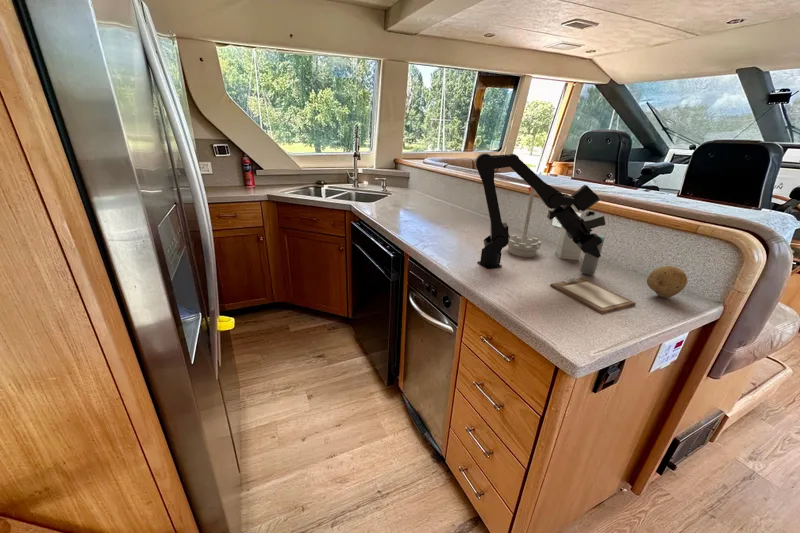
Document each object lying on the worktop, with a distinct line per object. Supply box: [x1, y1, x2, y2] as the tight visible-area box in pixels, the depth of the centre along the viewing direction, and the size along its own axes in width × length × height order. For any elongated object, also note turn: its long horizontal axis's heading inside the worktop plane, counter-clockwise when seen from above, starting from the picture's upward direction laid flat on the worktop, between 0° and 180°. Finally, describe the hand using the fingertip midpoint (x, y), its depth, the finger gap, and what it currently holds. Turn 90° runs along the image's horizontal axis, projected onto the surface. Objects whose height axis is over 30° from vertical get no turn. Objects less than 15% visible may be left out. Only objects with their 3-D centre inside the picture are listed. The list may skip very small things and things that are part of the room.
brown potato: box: [646, 265, 688, 299], centre depth 97 cm, size 9×9×10 cm
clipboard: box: [549, 277, 636, 314], centre depth 99 cm, size 14×18×1 cm
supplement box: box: [554, 224, 582, 261], centre depth 128 cm, size 7×7×13 cm
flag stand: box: [506, 186, 542, 258], centre depth 128 cm, size 13×13×30 cm
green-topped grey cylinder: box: [580, 234, 606, 276], centre depth 111 cm, size 4×4×13 cm
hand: (596, 254), depth 111 cm, fingers closed on green-topped grey cylinder, 4 cm apart
